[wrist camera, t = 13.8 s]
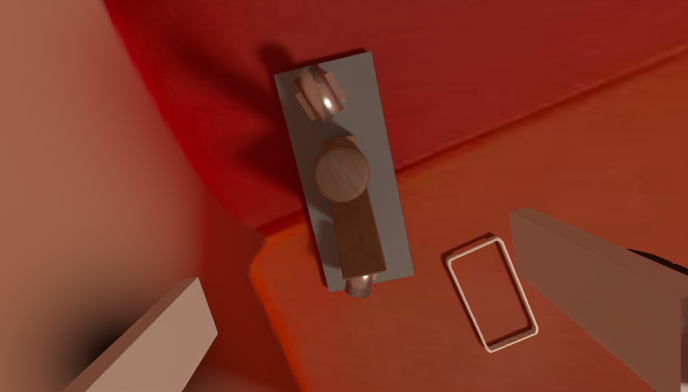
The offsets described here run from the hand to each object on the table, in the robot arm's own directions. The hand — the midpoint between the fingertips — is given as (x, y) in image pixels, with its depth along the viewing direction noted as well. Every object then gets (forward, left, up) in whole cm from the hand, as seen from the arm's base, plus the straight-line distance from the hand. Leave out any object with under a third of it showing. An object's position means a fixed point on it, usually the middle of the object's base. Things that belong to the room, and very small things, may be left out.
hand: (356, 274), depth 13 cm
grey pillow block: (-10, -1, -26) cm, 28 cm away
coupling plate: (0, 0, -26) cm, 26 cm away
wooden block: (0, 0, -25) cm, 25 cm away
